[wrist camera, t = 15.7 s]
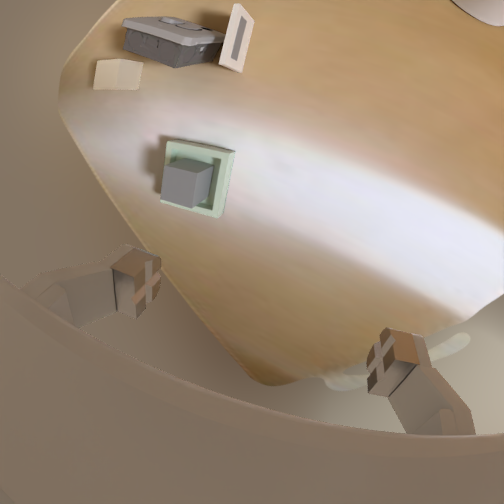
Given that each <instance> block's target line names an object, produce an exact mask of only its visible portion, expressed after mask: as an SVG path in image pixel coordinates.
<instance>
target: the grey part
mask: <svg viewBox="0 0 504 504" xmlns="http://www.w3.org/2000/svg"><path fill="white" fill-rule="evenodd" d="M214 166H215V165H212V164H208V163H204V162H200V161H196V160H191V159H187V158H184V159H181V160H178V161H175V162H172V163H169V164H167V165H164V173H163V181H162V189H161V198H160V199H161V200H165V201H168V202H171V203H175V204H178V205H181V206H185V207H188V208H191V209H192V208H193V207H195V206H196V205H197V204H199V203H200V202H201V201H203V200H204V199H206V198H207V197H208V196H209V193H210V187H211V182H212V177H213V171H214Z"/></svg>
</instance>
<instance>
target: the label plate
mask: <svg viewBox="0 0 504 504" xmlns="http://www.w3.org/2000/svg"><path fill="white" fill-rule="evenodd" d="M254 22H255V21H254V20H253V19H252V17H251V16H250V15H249V14H248V13H247V11H246V10H245V9H244V8H243V7H242V6H241V4H234V6H233V9H232V13H231V17H230V20H229V24H228V28H227V32H226V36H225V40H224V44H223V48H222V52H221V56H220V61H219V64H220V65H222V66H224V67H226V68H229V69H231V70H233V71H235V72H237V73H242V70H243V66H244V62H245V58H246V54H247V49H248V45H249V41H250V37H251V33H252V29H253V26H254Z"/></svg>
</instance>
